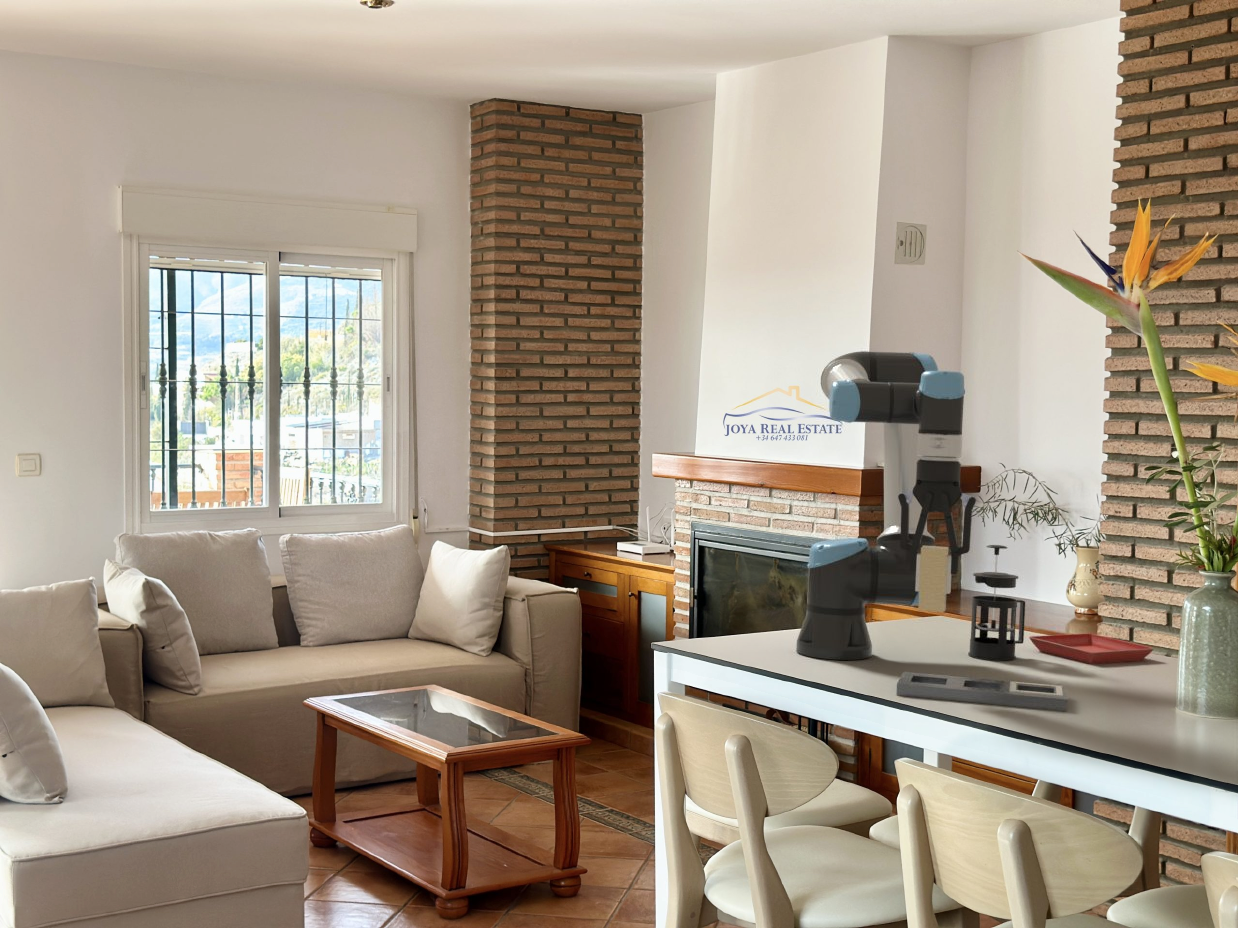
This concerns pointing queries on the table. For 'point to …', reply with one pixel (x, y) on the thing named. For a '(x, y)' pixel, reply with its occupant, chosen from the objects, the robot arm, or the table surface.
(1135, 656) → the red serving tray
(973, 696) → the grey flat slotted block
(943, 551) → the peg
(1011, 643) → the french press
